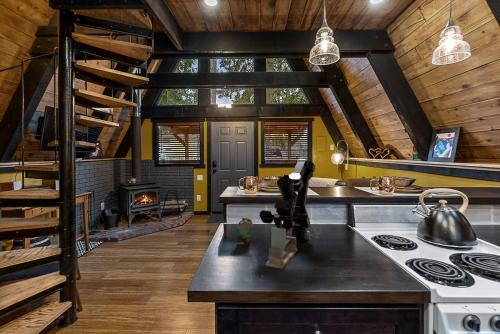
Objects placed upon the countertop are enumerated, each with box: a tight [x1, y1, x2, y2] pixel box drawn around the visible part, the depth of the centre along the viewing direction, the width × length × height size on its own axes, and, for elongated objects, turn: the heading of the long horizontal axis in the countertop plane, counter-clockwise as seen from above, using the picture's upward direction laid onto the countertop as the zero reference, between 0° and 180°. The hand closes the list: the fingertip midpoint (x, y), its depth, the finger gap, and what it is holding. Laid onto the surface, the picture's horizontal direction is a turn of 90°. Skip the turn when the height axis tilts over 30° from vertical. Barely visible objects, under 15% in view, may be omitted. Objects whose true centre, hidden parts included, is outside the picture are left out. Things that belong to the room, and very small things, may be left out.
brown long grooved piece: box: [265, 235, 298, 270], centre depth 104 cm, size 20×6×6 cm, turn 155°
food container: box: [235, 217, 254, 247], centre depth 121 cm, size 12×6×10 cm, turn 168°
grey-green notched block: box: [270, 226, 287, 257], centre depth 99 cm, size 3×5×10 cm, turn 65°
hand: (279, 238), depth 99 cm, fingers closed, pressing on grey-green notched block
